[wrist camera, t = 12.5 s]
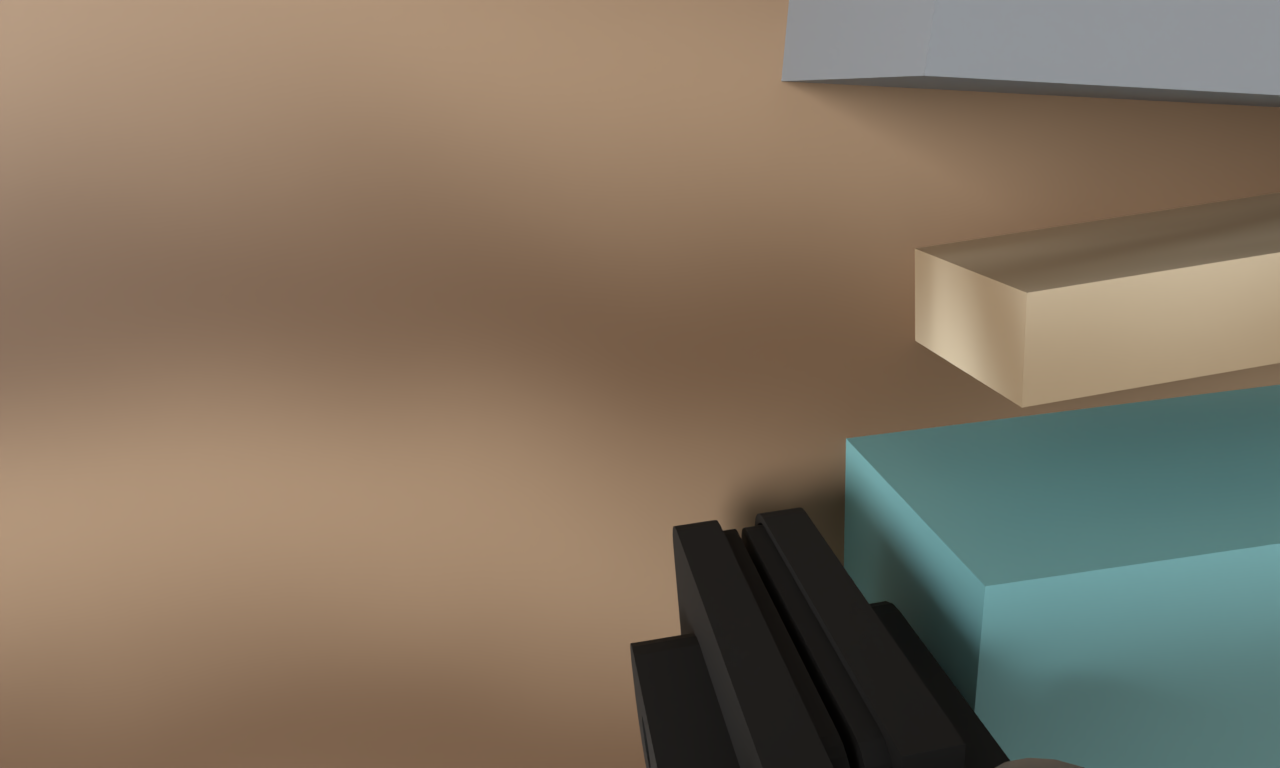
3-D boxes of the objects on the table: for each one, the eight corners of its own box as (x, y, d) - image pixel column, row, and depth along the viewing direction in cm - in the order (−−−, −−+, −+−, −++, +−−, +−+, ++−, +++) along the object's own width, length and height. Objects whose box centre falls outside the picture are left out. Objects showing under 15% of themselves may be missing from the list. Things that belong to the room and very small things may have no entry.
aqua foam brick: (846, 438, 11) (985, 586, 8) (1446, 363, 12) (1800, 467, 9) (842, 660, 12) (960, 870, 9) (1386, 577, 13) (1675, 740, 10)
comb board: (-667, -349, 7) (-1510, -665, 4) (1725, -525, 9) (2297, -816, 6) (11, 896, 12) (-149, 1150, 9) (1435, 603, 15) (1671, 735, 12)
